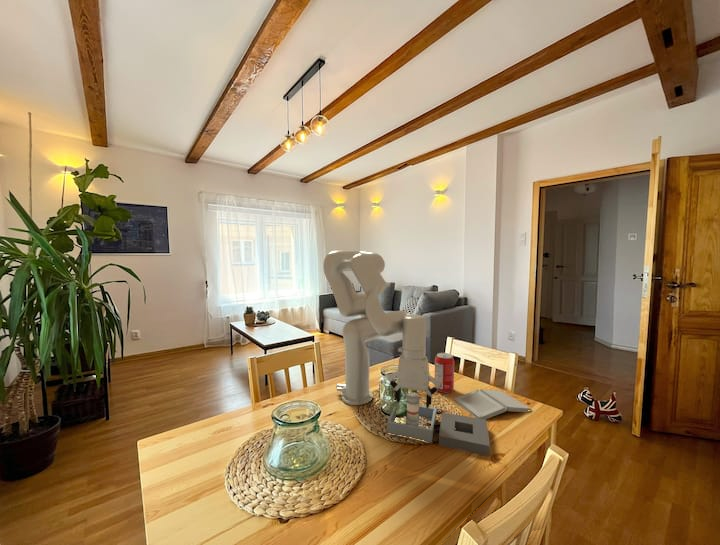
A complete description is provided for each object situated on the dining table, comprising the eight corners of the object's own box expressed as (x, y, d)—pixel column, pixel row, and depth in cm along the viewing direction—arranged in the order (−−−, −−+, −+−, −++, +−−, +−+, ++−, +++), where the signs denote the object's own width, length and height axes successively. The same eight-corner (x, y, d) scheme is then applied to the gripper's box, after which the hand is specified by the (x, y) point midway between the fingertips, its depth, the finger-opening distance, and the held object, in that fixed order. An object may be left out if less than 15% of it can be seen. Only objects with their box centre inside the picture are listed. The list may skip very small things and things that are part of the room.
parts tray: (386, 434, 94) (387, 422, 94) (396, 412, 107) (396, 401, 107) (431, 443, 90) (432, 431, 89) (436, 419, 103) (436, 408, 103)
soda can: (433, 392, 123) (434, 357, 122) (434, 384, 130) (435, 351, 129) (453, 395, 120) (454, 359, 119) (453, 387, 128) (454, 353, 127)
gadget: (501, 394, 123) (501, 385, 123) (531, 412, 109) (532, 403, 108) (453, 401, 116) (454, 392, 116) (479, 422, 102) (479, 412, 102)
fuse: (404, 426, 97) (405, 397, 97) (407, 420, 101) (407, 391, 101) (417, 429, 96) (418, 399, 95) (419, 422, 100) (420, 393, 99)
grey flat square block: (438, 445, 89) (438, 435, 89) (442, 420, 102) (442, 412, 102) (489, 456, 84) (489, 446, 84) (486, 428, 97) (486, 419, 97)
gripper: (385, 353, 96) (384, 404, 97) (440, 360, 91) (439, 414, 92) (390, 346, 103) (390, 394, 104) (442, 352, 98) (440, 402, 99)
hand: (413, 403), depth 98 cm, fingers open, 9 cm apart
